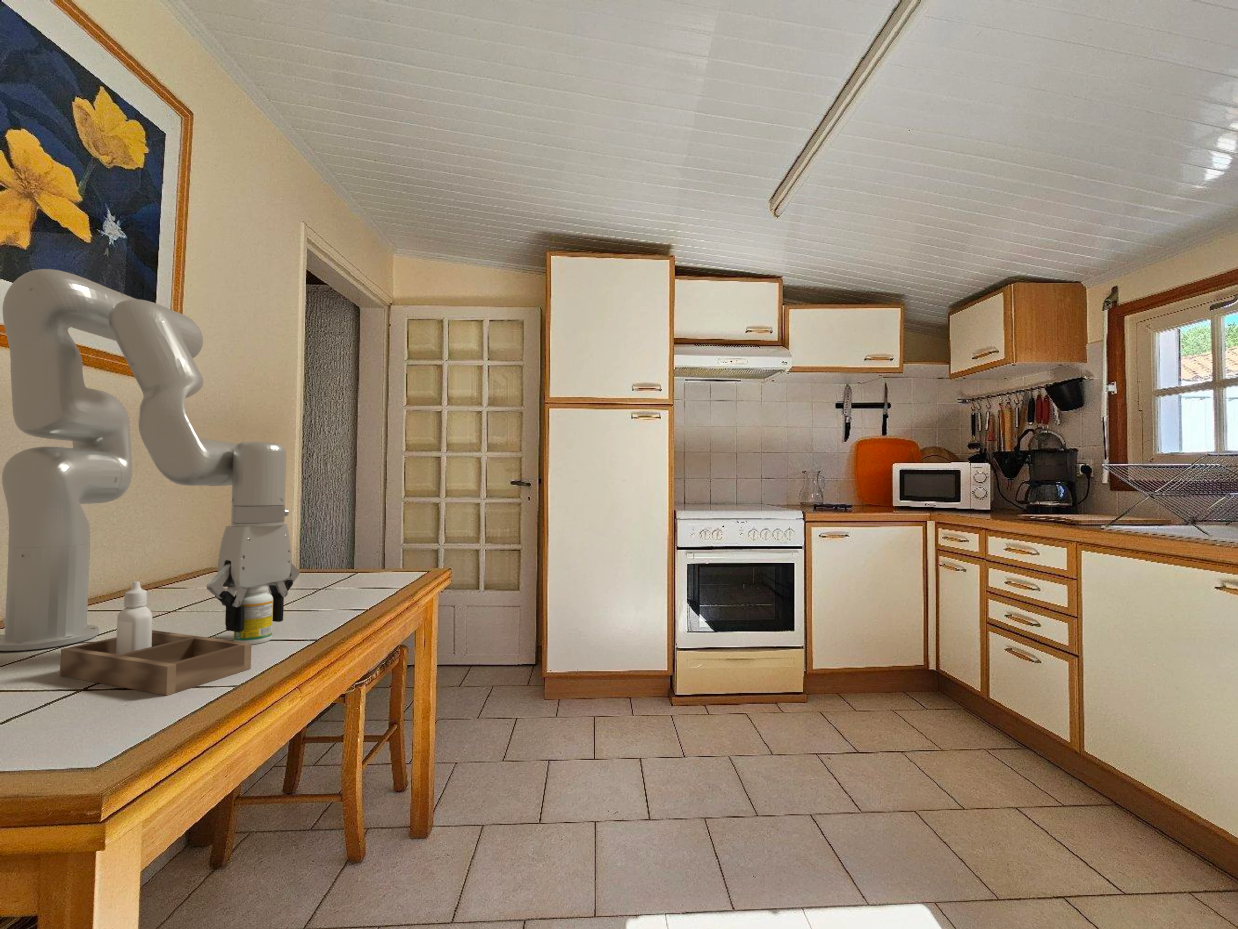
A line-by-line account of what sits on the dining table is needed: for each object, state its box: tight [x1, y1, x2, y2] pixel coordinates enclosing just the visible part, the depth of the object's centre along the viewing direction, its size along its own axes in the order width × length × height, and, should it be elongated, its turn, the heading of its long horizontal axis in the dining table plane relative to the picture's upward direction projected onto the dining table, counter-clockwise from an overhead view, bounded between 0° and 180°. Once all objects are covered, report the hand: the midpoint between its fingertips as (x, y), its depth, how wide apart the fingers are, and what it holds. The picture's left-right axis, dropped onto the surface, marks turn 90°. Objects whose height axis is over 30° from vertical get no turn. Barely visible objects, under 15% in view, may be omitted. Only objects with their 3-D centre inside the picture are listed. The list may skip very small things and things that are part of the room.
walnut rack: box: [59, 629, 252, 696], centre depth 79 cm, size 21×11×4 cm, turn 71°
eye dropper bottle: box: [116, 580, 153, 655], centre depth 81 cm, size 4×6×12 cm
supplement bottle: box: [233, 584, 273, 646], centre depth 95 cm, size 5×5×10 cm
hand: (255, 624), depth 95 cm, fingers open, 6 cm apart
